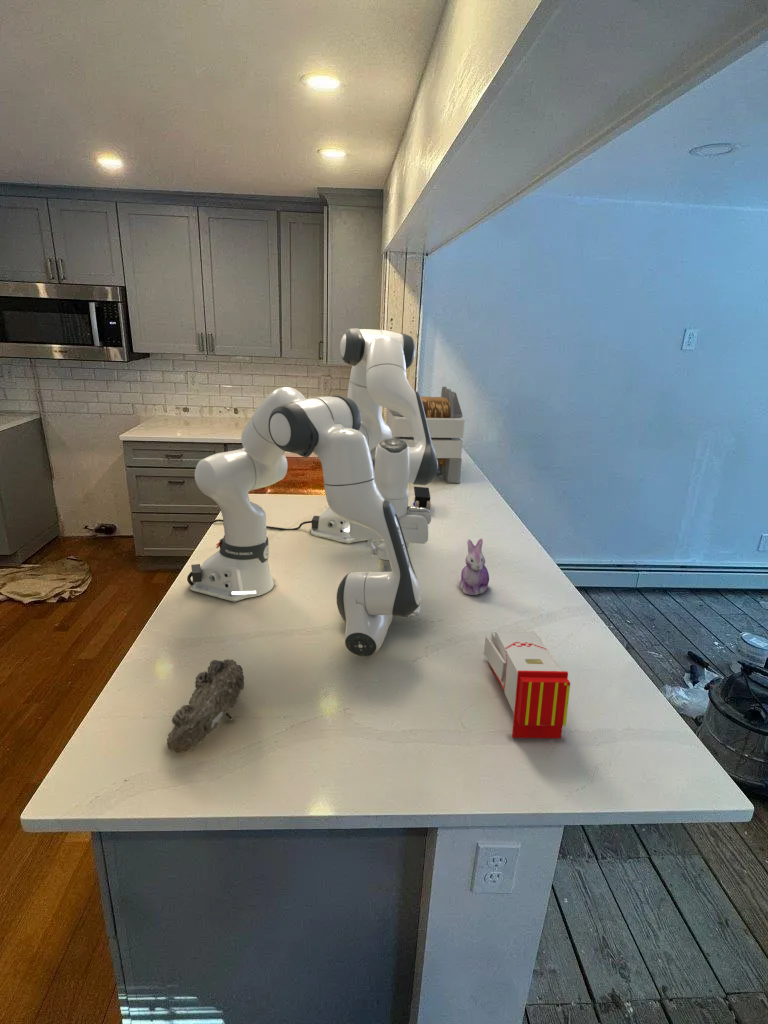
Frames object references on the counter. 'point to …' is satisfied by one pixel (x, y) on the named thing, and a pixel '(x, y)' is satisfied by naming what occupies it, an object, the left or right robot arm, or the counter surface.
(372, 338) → the right robot arm
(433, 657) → the counter surface
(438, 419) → the transformer
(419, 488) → the figurine character
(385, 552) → the lid
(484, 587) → the figurine
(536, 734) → the toy
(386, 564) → the jar
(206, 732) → the fossil
